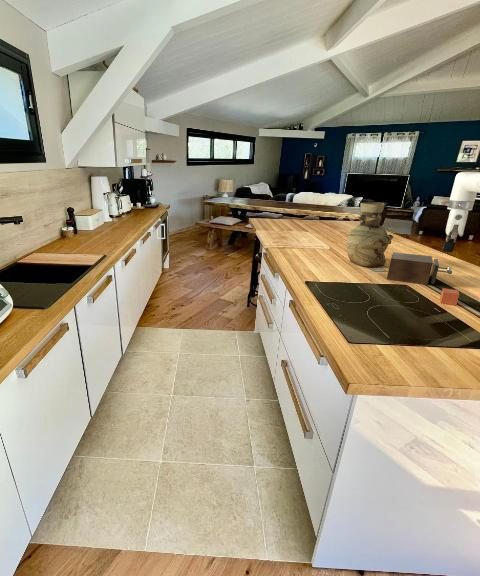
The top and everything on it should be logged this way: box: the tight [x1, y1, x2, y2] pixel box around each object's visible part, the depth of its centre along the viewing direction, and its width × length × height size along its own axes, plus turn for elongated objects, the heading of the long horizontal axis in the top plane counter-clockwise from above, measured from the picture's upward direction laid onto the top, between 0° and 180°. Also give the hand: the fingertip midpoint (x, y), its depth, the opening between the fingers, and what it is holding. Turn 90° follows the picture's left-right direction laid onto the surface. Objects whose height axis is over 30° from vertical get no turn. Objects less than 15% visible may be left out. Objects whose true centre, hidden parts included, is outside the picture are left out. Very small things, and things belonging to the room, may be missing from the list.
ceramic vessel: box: [346, 202, 394, 268], centre depth 157 cm, size 19×21×30 cm
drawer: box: [429, 258, 453, 285], centre depth 134 cm, size 18×11×8 cm, turn 56°
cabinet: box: [386, 251, 434, 286], centre depth 137 cm, size 15×13×10 cm
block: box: [439, 287, 460, 307], centre depth 112 cm, size 4×4×4 cm
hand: (447, 251), depth 128 cm, fingers closed
